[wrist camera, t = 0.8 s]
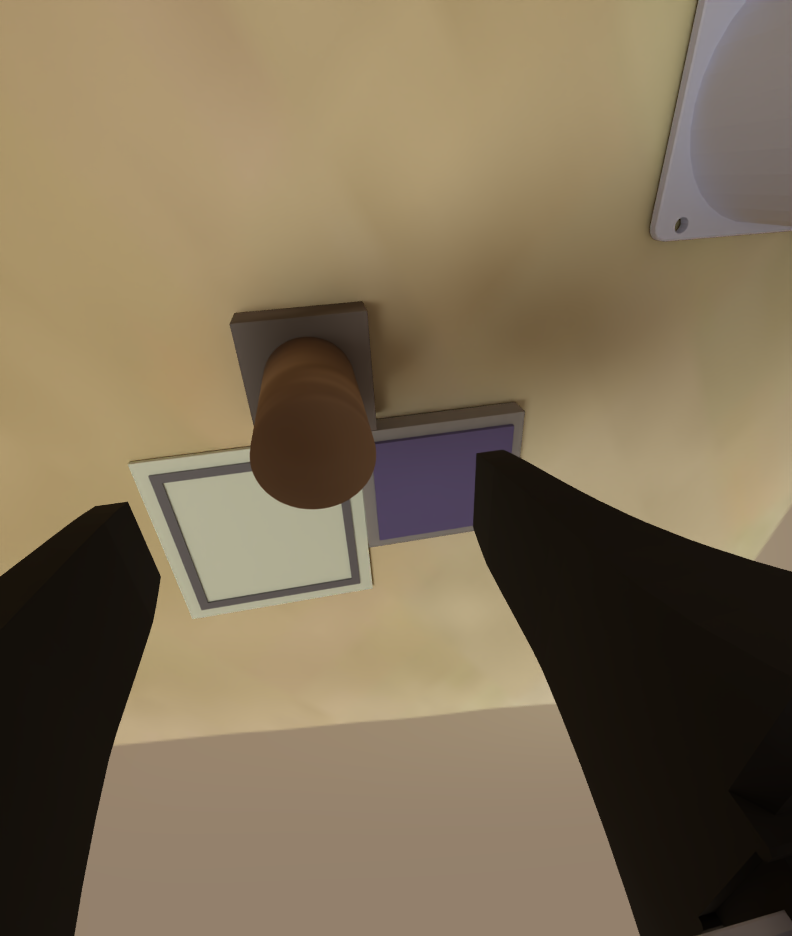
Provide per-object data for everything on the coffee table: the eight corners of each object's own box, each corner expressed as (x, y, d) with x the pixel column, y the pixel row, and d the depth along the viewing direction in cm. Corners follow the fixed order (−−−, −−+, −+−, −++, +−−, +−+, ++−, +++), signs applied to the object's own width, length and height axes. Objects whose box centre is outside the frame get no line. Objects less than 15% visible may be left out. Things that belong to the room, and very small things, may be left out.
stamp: (361, 301, 17) (396, 365, 11) (371, 413, 19) (404, 515, 13) (234, 312, 16) (199, 386, 10) (260, 427, 19) (244, 539, 13)
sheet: (355, 432, 20) (356, 436, 19) (372, 585, 24) (372, 589, 24) (129, 461, 18) (127, 465, 18) (193, 616, 23) (192, 620, 23)
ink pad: (515, 402, 20) (526, 413, 19) (505, 512, 23) (514, 527, 22) (354, 422, 19) (357, 435, 18) (366, 533, 22) (369, 550, 21)
